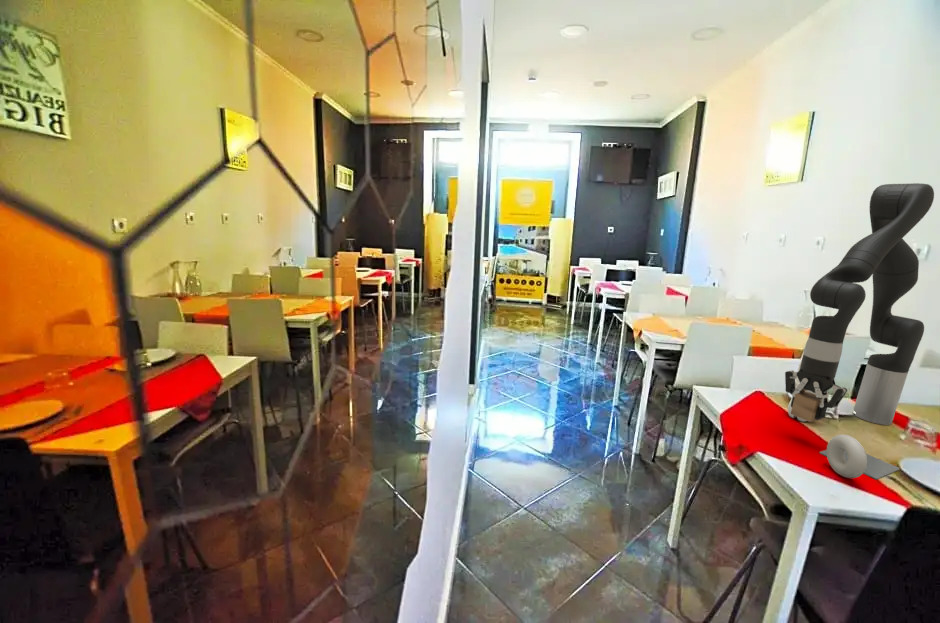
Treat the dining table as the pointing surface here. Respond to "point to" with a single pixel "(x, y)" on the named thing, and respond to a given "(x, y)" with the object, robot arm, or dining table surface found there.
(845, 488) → the dining table surface
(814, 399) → the walnut block
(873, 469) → the slate mat
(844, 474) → the donut
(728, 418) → the dining table surface
